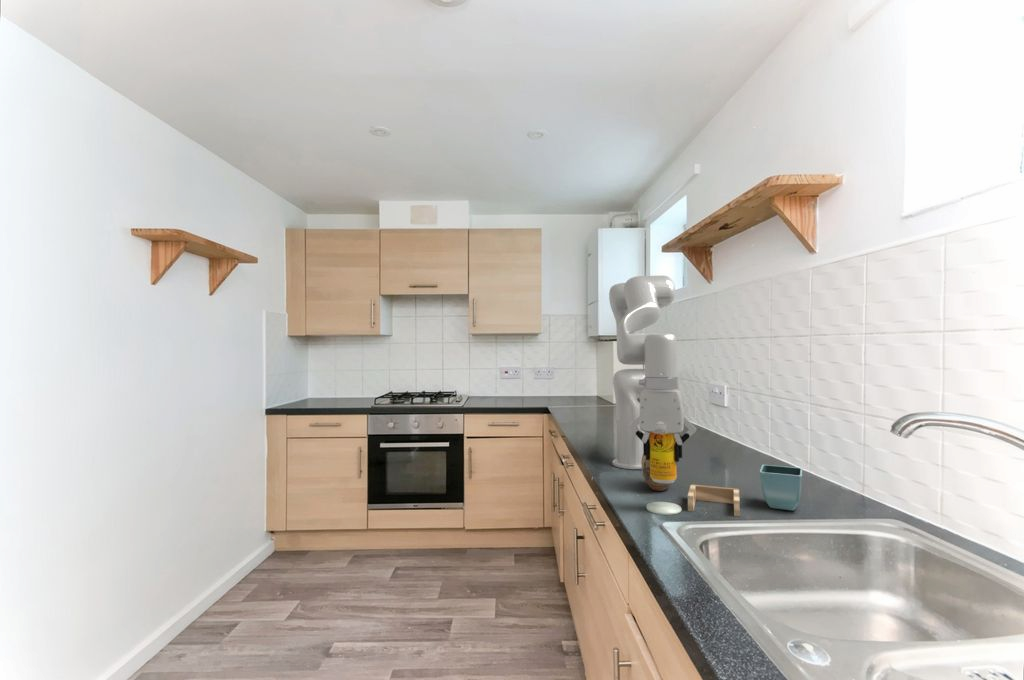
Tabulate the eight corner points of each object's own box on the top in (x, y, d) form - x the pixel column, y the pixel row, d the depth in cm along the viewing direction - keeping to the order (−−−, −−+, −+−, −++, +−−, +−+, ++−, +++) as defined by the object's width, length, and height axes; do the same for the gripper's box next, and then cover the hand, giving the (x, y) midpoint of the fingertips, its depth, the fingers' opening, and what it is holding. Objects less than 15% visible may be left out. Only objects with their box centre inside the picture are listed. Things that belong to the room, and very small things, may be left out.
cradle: (691, 498, 127) (690, 484, 127) (739, 502, 123) (738, 488, 123) (687, 510, 118) (687, 495, 118) (739, 516, 113) (739, 501, 113)
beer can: (647, 482, 118) (646, 418, 118) (653, 476, 123) (651, 415, 123) (674, 485, 115) (672, 420, 115) (678, 478, 120) (677, 416, 120)
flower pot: (763, 499, 126) (762, 463, 126) (803, 504, 121) (802, 467, 121) (760, 509, 118) (759, 471, 118) (803, 515, 113) (802, 475, 114)
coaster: (649, 502, 124) (649, 500, 124) (682, 506, 121) (682, 503, 121) (644, 512, 117) (644, 510, 117) (679, 516, 114) (679, 514, 114)
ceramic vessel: (671, 499, 127) (669, 401, 127) (636, 495, 131) (634, 400, 131) (680, 482, 142) (678, 395, 142) (647, 479, 146) (646, 394, 146)
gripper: (622, 385, 119) (623, 460, 119) (698, 386, 112) (700, 466, 112) (627, 383, 126) (629, 454, 126) (700, 384, 119) (702, 459, 119)
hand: (662, 459), depth 119 cm, fingers closed on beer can, 6 cm apart
